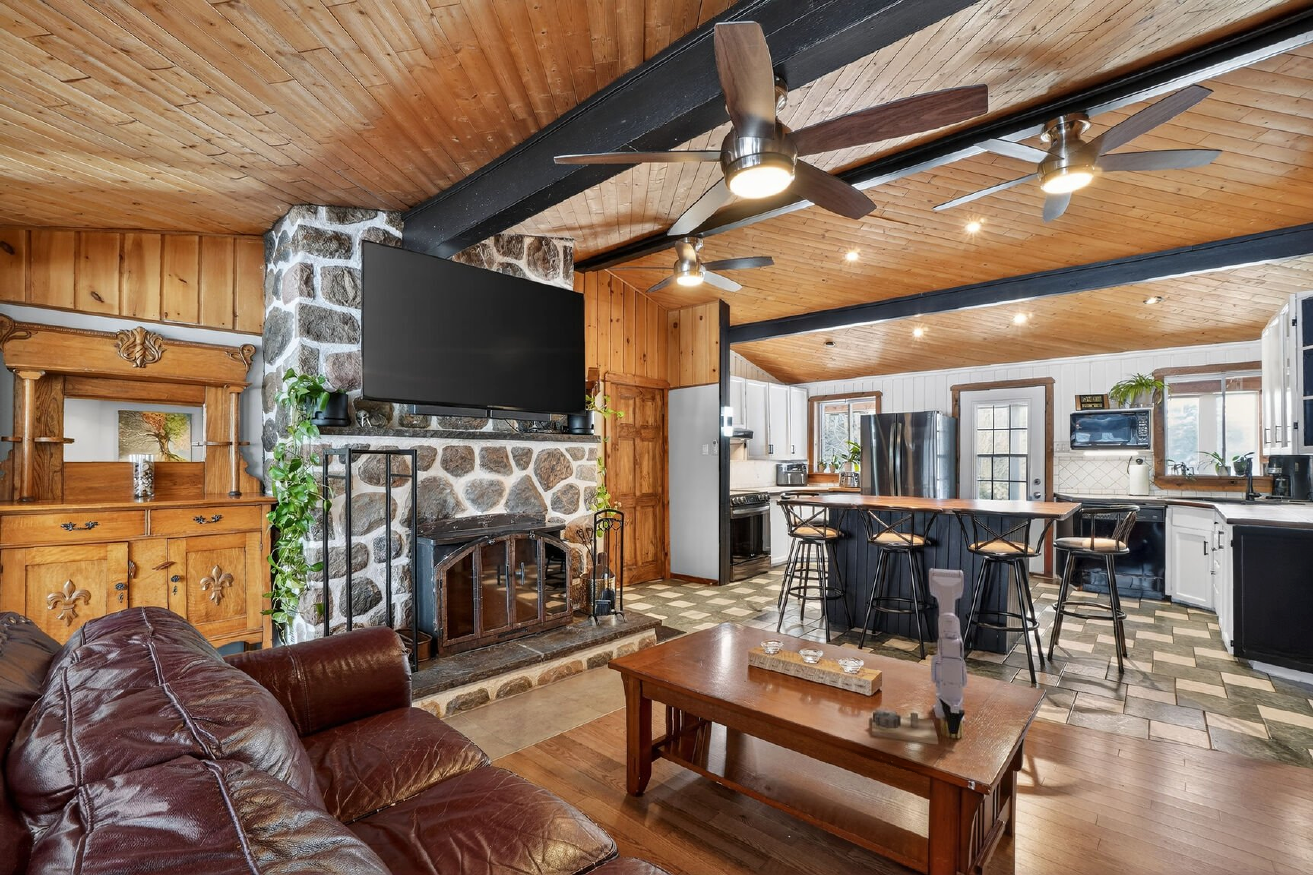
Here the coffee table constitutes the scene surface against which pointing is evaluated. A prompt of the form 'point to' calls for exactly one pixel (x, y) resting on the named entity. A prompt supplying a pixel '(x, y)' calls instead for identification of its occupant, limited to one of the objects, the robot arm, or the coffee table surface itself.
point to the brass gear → (946, 732)
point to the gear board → (903, 727)
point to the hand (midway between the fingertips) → (951, 728)
